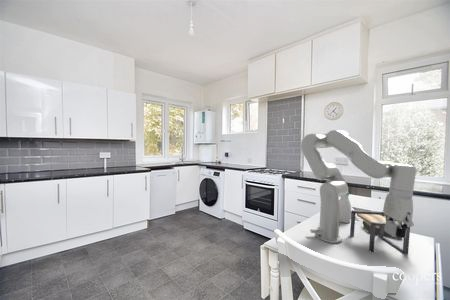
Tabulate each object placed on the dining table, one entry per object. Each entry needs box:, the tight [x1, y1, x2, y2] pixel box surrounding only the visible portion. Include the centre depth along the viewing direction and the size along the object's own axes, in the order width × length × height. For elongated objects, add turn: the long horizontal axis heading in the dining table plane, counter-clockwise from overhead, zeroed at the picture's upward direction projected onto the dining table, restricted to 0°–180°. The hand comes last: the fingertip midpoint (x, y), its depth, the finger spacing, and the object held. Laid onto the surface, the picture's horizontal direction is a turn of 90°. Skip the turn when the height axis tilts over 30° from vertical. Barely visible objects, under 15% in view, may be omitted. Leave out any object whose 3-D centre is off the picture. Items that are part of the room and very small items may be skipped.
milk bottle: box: [339, 191, 352, 224], centre depth 134 cm, size 8×8×20 cm
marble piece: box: [362, 220, 403, 240], centre depth 120 cm, size 17×15×4 cm
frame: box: [349, 209, 411, 255], centre depth 104 cm, size 17×17×14 cm
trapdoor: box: [356, 214, 396, 224], centre depth 104 cm, size 16×13×3 cm
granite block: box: [385, 220, 407, 239], centre depth 86 cm, size 5×5×5 cm
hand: (394, 233), depth 86 cm, fingers closed on granite block, 5 cm apart
